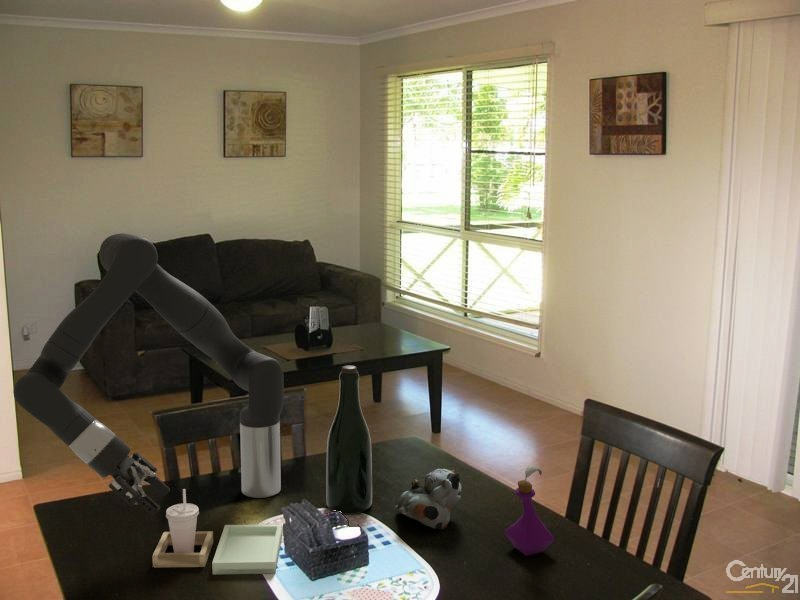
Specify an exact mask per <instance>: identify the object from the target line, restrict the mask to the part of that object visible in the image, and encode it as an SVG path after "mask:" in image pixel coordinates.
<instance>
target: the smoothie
mask: <svg viewBox="0 0 800 600" xmlns="http://www.w3.org/2000/svg"><path fill="white" fill-rule="evenodd" d="M186 491H187V490H186V488H183V489H182V502H183V503H182V502H181V503H177V504H174V505H171V506H169V507H168V508H167V509H166V510H165V513H166V514H165V518H166V519H167V521H168V527H169V532H170V533H171V538H172V544H173V545H172V549H173V553H195V545H194V544H195V533H196V530H197V522H198V515H200V511H199V510H200V509H199V507H198V505H196V504H193V503H187V496H186V495H187V493H186Z"/></svg>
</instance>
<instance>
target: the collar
mask: <svg viewBox="0 0 800 600" xmlns="http://www.w3.org/2000/svg"><path fill="white" fill-rule="evenodd" d="M213 545H214V531H213V530H212V531H209V530H208V531H207V530H206V531H199V530H198V531H196V533H195V544H194V546H201V550H200V552H194V553H174V552H166V551H167V549H168V547H169V546H173V544H172V538H171V533H170V531H164V532H163V533H162V535H161V537H160V539H159V541H158V544H157V546H156V548H155V550H154V551H153V554H152V568H153V567H154V568H199V567H200V568H205V567H206V564H207V562H208V560H209V559H208V558H209V556H210V553H211V549H212V548H213Z"/></svg>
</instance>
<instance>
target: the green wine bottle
mask: <svg viewBox="0 0 800 600" xmlns="http://www.w3.org/2000/svg"><path fill="white" fill-rule="evenodd" d="M338 377H339V378H338V379H339V393H338V394H339V396H338V404H337V405H338V406H337V409H336V413H335V416H334V418H333V421H332V423H331V426H330V428H329V432H328V436H327V443H326V446H327V447H326V473H325V474H326V475H325V476H326V482H325V483H326V485H325V486H326V490H325V491H326V492H325V493H326V494H325V495H326V499H325V500H326V506H327V508H328V509H330V510H331V511H332V510H336V511H341V512H342V513H343V514H344V515H354V514H359V513H360V514H361V513H363V512H365V511H367V510H368V509H370V507H371V506H372V503H373V469H372V468H373V465H372V464H373V462H372V461H373V460H372V457H373V456H372V439H371V436H370V429H369V427H368V425H367V422H366V419H365V417H364V414H363V412H362V408H361V401H360V391H359V389H360V388H359V387H360V385H359V381H360V374H359V371H358V369H357V366H355V365H350V364H348V365H344V366H342V367H341V371H340V373H339V376H338ZM342 513H341V514H342Z"/></svg>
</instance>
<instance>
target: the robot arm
mask: <svg viewBox="0 0 800 600" xmlns="http://www.w3.org/2000/svg"><path fill="white" fill-rule="evenodd" d="M157 250H158V249H157V248H156V246H155V245H154V243H153V242H152V241H150V240H149V239H147V238H145V237H143V236H139V235H135V234H130V233H125V232H124V233H123V232H121V233H116V234H111V235H109V236H108V237H106V238H104V240H103V241H102V242H101V245H100V248H99V253H98V254H99V261H100V263H101V266H102V267H103V269H104V270H105V271H106V273H105V275H104V277H103V279H102V280H101V281H100V283H99V284H98V285H97V287H96V288H94V289H93V291H92V292H91V293H90V294H89V295H88V296H87V297H86V298H85V299H84V300H83V301H81V302H80V303H79V304H77V305H76V307H75V308H73V309H72V310H71V311H70V312H69V313H68V314H67V315H66V316H65V317H64V318H63V319H62V320H61V322H60V323H59V324H58V326H57V327H56V328H55V330H54V331H53V333H52V334H51V335H50V337H49V338H48V340H47V341H46V343H45V344H44V346H43V348H42V349H41V352H40V355H39V356H38V358H36V361H35V362H34V363H33V365H31V367H30V368H29V370H28V371H27V372H26V373H25V374H23V375H22V376H20V377H18V379H17V380H16V381H15V383H14V386H13V397H14V400H15V401H16V403H17V404H18V405H19V406H20V407H21V408H22V409H23V410H25V412H27V413H28V414H29V415H31V416H33V418H35V419H36V420H38V421H39V422H41V423H42V424H44V426H46V427H47V428H48V429H49V430H50V431H51V432H52V433H53V434H54V435H55V436H56V437H57V438H59V439H60V440H61V441H62V442H63V443H64V444H65V445H66V446H68V447H69V448H70V449H71V451H72V452H73V453H74V455H76V456H77V457H78V458H80V460H82V462H84V463H85V464H86V465H87V466H89V467H90V468H91V469H92V470H93V471H94V472H95V473H97V475H99V476H100V477H101V478H103V479H104V478H105V479H106V478H107V477H108V476H111V477H112V479H113V480H112V481H110V483H109V484H108V487H109V489H110V490H112V491H113V492H114V494H116V495H117V496H118V497H120V498H121V500H123V501H124V502H125V503H126V504H127V505H128V507H133V506H134V505H139V506H140V507H141V508H142V509H144V511H146V512H147V513H148V514H149V515H150V516H155V515H156V514H157V513H158V512H159V511H160V510H161V509H160V508H161V506H160V505H159V504H158V503H156V501H154V499H152V498H151V497H150V496H149V495H148V494H146V493H145V490H144V489H143V484H146V485H148V486H149V487H150V488H151V489H152V490H153V491H154V492H156V494H157V495H158V496H160V497H161V498H164V497H165V496H166V495H168V494H169V492H170V490H171V488H170V487H169V486H168V485H167V484H165V483H164V482H163V481H162V480H161V479H160V478H159V477H158V474H157V472H158V468H157V467H155V465H153V464H152V463H151V462H150V461H148V460H147V459H146V458H145V457H144V456H142V455H141V454H140V453H139V452H138V451H135V452H133V453H132V454H131V455H130V456H129V454H130V453H131V450H132V449H131V447H130V446H129V445H128V444H127V443H126V442H124V440H122V439H121V438H120V437H119V436H118V435H116V434H115V433H114V432H113V431H112V430H111V429H110V428H109V427H107V426H106V425H105V424H104V423H102V422H100V421H99V420H98V419H96V417H94V416H93V415H92V414H91V413H90V412H88V410H87V409H85V408H83V406H81V405H80V404H78V402H75V401H73V400H72V399H71V398H70V397H69V396H68V395H67V394H66V393H64V391H62V389H61V388H62V386H63V384H64V383H65V381H66V379H68V377H69V374H70V373H71V371H72V370H74V368H75V367H76V366H77V364H78V363H79V362H80V360H81V359H82V357H83V356H84V355H85V353H86V352H87V351H88V349H89V348H90V346H91V345H92V344H93V342H94V341H95V339H96V337H97V336H98V335H99V334H100V332H101V331H102V329H103V328H104V327H105V326H106V325H107V323H108V322H109V321H110V319H111V318H113V316H114V315H115V314H116V312H117V311H118V310H119V309H120V308H121V307H122V306H123V305H124V303H125V302H127V300H129V298H130V297H131V296H132V295H133V294H134V293H136V294H138V295H139V296H140V297H141V298H142V299H144V300H145V301H146V302H147V303H148V304H149V305H150V306H151V307H152V308H153V309H154V310H155V312H156V313H158V314H159V315H160V316H161V317H162V319H163V320H165V321H166V322H167V323H168V324H169V325H170V326H171V327H172V328H173V329H175V331H176V332H177V333H179V334H180V335H181V336H182V337H183V338H185V340H187V341H188V342H190V343H191V344H192V345H193V346H195V347H196V348H197V349H198V350H200V351H201V352H203V354H205V355H207V356H208V357H210V358H211V359H213V361H215V362H216V363H217V364H218V365H219V367H221V368H222V370H223V371H224V372H225V373H226V374H227V376H229V378H230V379H231V380H232V381H233V382H234V383H235V384H236V385H237V386H238V387H239V388H240V389H242V390H244V391H246V392H248V401H247V405H246V406H245V407H243V408H241V409H240V412H239V432H240V433H239V434H240V435H239V436H240V471H241V473H240V475H241V476H240V478H241V481H240V482H241V485H240V486H241V493H242V494H243V495H244V496H246V497H250V498H255V499H256V498H257V499H259V498H260V499H262V498H269V497H273V496H275V495H277V494H279V493H280V491H281V489H282V488H281V487H282V485H281V484H282V482H281V478H282V477H281V474H282V473H281V433H280V432H281V429H280V427H281V425H280V423H281V421H280V419H281V418H280V417H281V416H280V415H281V413H282V410H283V407H284V391H285V390H284V387H285V386H284V385H285V383H284V381H285V379H284V370H283V367H282V365H281V363H280V362H279V361H278V360H277V359H275V358H273V357H270V356H268V355H265V354H263V353H260V352H258V351H255V350H254V349H253V348H251V347H249V346H248V345H246V344H245V342H242V341H241V340H240V339H239V338H238V337H237V336H236V335H235V334H234V332H233V331H232V329H231V327H230V326H229V324H228V322H227V320H226V318H225V317H224V316H223V315H222V313H221V312H220V311H219V310H218V309H217V308H216V307H215V305H213V304H212V303H211V302H210V301H209V300H208V299H207V298H205V297H204V296H203V295H202V294H200V293H199V292H198V291H196V290H195V289H193V288H192V287H190V286H189V285H187V284H186V283H184V282H183V281H181V280H180V279H178V278H176V277H174V276H173V275H171V274H170V273H168V272H167V271H166V270H165V269H164V268H163V267H162V266H161V265H159V264H158V261H159V259H158V258H159V255H158V251H157Z"/></svg>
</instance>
